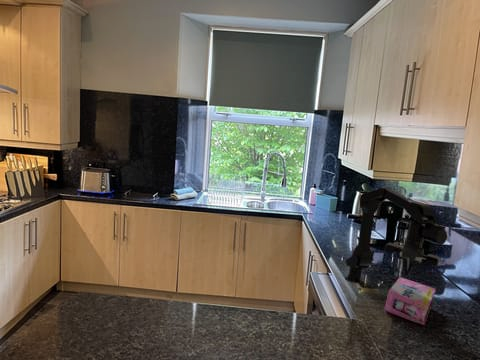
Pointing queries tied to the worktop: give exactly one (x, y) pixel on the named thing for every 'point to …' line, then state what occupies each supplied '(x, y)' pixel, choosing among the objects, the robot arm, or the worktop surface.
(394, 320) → the worktop surface
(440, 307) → the worktop surface
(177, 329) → the worktop surface
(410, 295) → the gum box
